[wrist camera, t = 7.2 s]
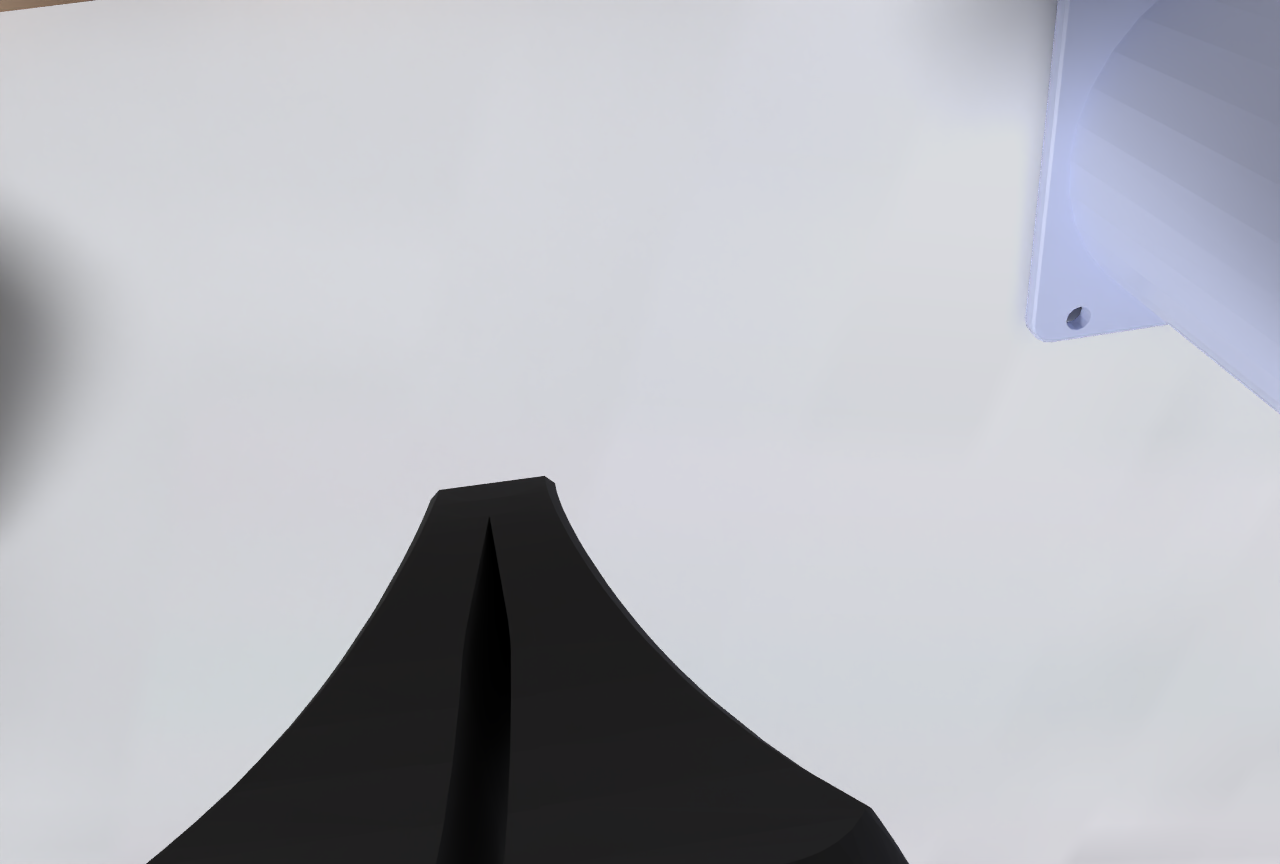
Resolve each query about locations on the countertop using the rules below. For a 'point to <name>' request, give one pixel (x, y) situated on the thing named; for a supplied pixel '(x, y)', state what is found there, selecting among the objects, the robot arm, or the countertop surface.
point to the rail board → (32, 4)
